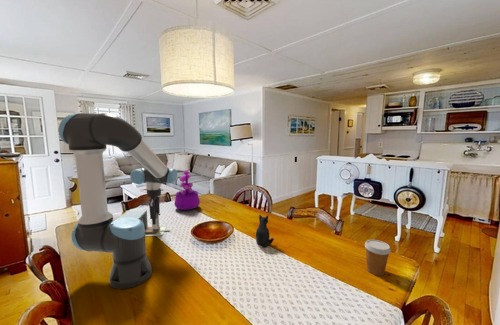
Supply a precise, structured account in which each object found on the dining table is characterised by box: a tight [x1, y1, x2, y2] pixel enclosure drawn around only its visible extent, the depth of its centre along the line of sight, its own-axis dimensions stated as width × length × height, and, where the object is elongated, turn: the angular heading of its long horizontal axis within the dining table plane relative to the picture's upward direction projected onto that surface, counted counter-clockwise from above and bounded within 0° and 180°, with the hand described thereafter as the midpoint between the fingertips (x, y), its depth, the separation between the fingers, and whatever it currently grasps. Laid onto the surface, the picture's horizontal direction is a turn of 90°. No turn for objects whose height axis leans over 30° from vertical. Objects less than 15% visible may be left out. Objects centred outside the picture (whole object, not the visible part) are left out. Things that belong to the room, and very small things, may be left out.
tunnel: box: [117, 209, 171, 233], centre depth 132 cm, size 14×33×11 cm, turn 97°
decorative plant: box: [174, 169, 201, 211], centre depth 173 cm, size 19×18×30 cm
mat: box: [145, 226, 168, 237], centre depth 134 cm, size 11×10×1 cm
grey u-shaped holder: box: [140, 213, 161, 234], centre depth 132 cm, size 7×16×10 cm, turn 97°
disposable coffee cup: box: [364, 239, 392, 277], centre depth 95 cm, size 10×10×12 cm
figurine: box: [255, 214, 275, 248], centre depth 118 cm, size 10×10×15 cm
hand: (155, 227), depth 133 cm, fingers closed on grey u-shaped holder, 3 cm apart
